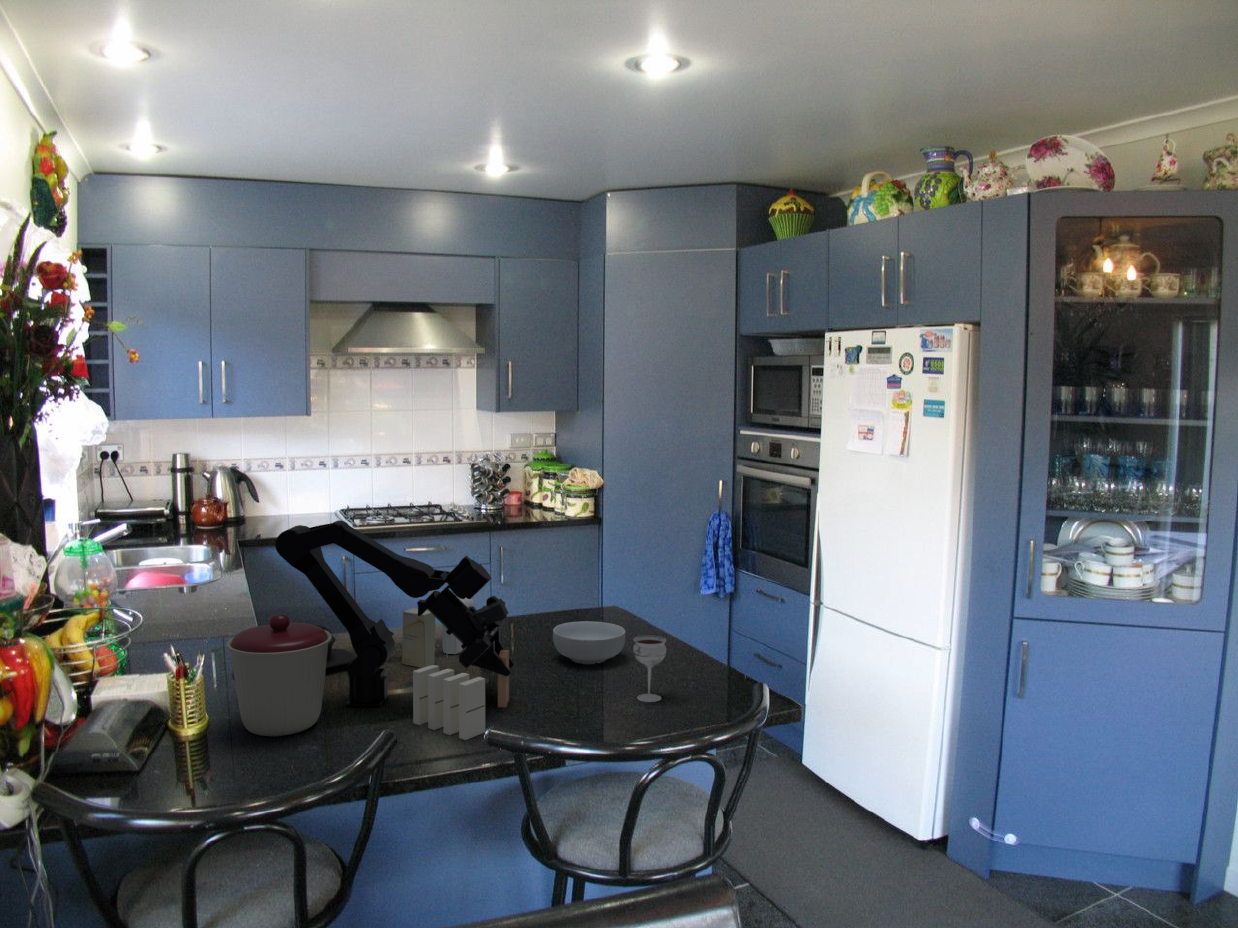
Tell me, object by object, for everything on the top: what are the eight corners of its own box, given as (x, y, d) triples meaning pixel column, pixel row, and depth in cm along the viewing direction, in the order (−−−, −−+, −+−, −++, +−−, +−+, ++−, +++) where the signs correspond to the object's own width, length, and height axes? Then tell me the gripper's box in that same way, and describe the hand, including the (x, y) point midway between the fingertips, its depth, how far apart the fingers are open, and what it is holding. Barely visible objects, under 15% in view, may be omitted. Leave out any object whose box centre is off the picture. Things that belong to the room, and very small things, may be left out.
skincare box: (401, 664, 214) (400, 611, 212) (414, 659, 217) (414, 606, 216) (423, 668, 211) (423, 614, 210) (436, 663, 215) (436, 610, 213)
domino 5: (497, 707, 187) (497, 657, 186) (501, 698, 192) (500, 649, 191) (506, 707, 187) (506, 657, 186) (509, 698, 192) (509, 649, 191)
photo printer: (456, 655, 220) (456, 603, 219) (440, 653, 222) (439, 601, 221) (477, 644, 230) (477, 594, 229) (462, 642, 232) (461, 592, 230)
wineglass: (637, 704, 189) (638, 645, 188) (628, 693, 195) (629, 636, 194) (670, 701, 191) (671, 643, 190) (659, 691, 197) (660, 634, 196)
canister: (212, 725, 175) (209, 613, 173) (305, 702, 188) (303, 597, 186) (254, 754, 162) (251, 632, 161) (351, 727, 175) (349, 614, 173)
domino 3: (443, 732, 173) (443, 679, 172) (463, 725, 177) (463, 672, 176) (449, 735, 172) (449, 680, 171) (469, 726, 176) (469, 674, 175)
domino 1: (413, 723, 178) (412, 670, 177) (433, 715, 182) (433, 664, 181) (419, 725, 177) (418, 672, 176) (439, 717, 181) (439, 666, 180)
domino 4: (459, 738, 171) (458, 683, 170) (478, 729, 175) (478, 676, 174) (465, 740, 170) (465, 685, 169) (485, 731, 174) (485, 678, 173)
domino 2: (428, 728, 175) (427, 674, 174) (448, 720, 179) (447, 668, 178) (434, 729, 174) (434, 676, 173) (454, 722, 178) (454, 670, 177)
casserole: (237, 690, 195) (236, 650, 195) (231, 664, 212) (230, 627, 211) (361, 675, 206) (360, 637, 205) (347, 652, 223) (346, 616, 222)
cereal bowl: (624, 671, 210) (625, 640, 210) (549, 670, 211) (549, 638, 210) (625, 649, 227) (626, 620, 227) (556, 648, 228) (556, 619, 227)
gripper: (476, 597, 178) (535, 656, 179) (489, 576, 196) (543, 629, 197) (434, 638, 178) (493, 696, 179) (451, 613, 197) (505, 666, 198)
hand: (510, 670), depth 189 cm, fingers closed on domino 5, 5 cm apart
